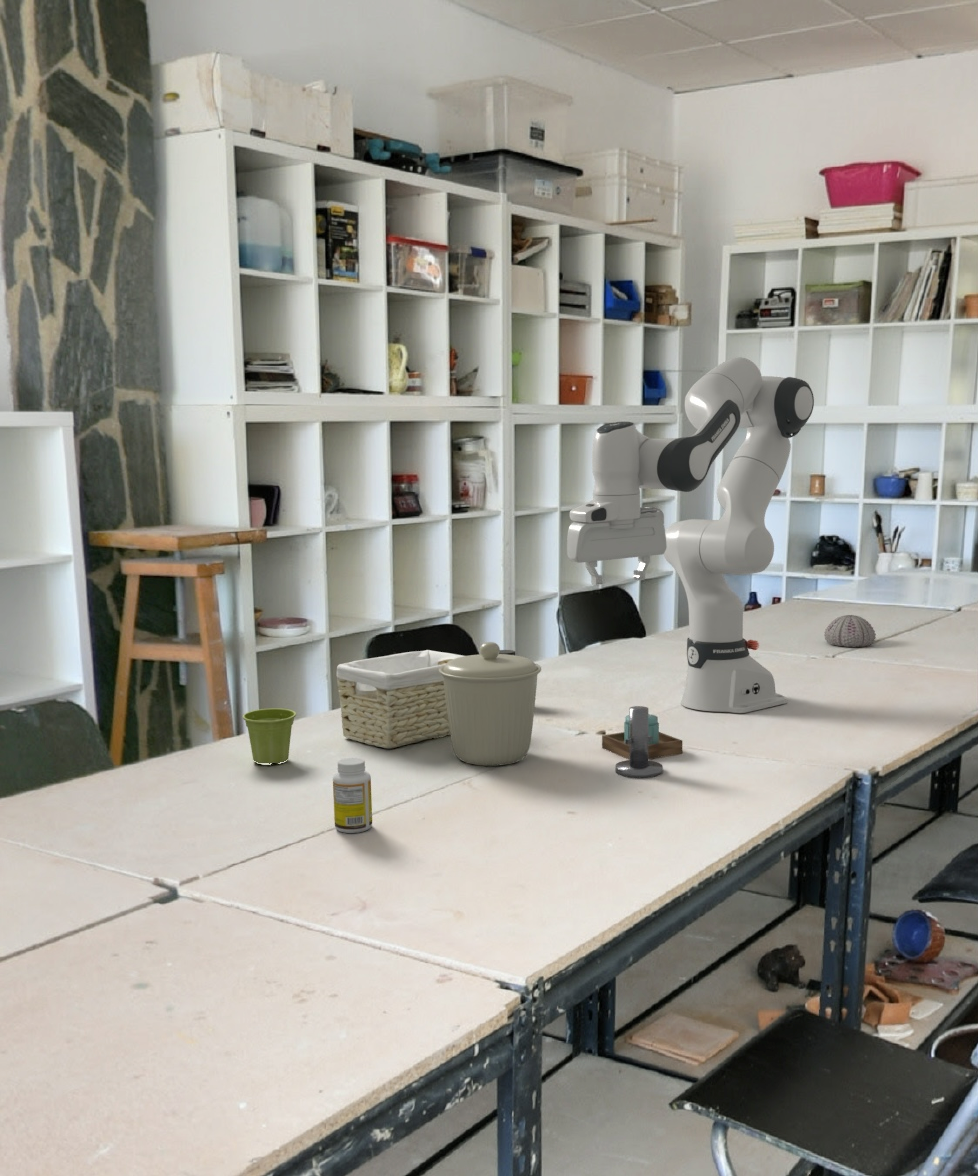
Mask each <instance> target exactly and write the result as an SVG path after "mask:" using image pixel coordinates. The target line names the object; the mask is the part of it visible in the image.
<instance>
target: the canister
mask: <svg viewBox="0 0 978 1176" xmlns="http://www.w3.org/2000/svg"><path fill="white" fill-rule="evenodd" d="M500 650H501V649H500V646H499V644H497V643H496V642H494V641H488V642H487V641H486V642H484V643H482V644H481V645H480V647H479V653H480V654H471V655H463V656H464V657H459V658H455V659H453V660H451V661H449V662H447V663H446V664H445V665H443V666H442V667H440V668H439V673H440V674H441V675H442V676H443V682H444V691H445V698H446V705H447V713H448V721H449V727H450V734H449V735H450V739H451V740H450V741H451V745H452V749H453V752H454V753H455V755H456V757H457V758H458V759H459V760H461V761H463V762H465V763H468V764H470V765H475V766H486V767H487V766H489V767H490V766H491V767H493V766H505V765H509V764H513V763H516V762H519V761H521V760H523V759H524V758H525V757H526V755H528V752H529V750H530V748H531V741H532V733H533V725H534V716H535V709H536V708H535V707H536V706H535V705H536V697H537V696H536V695H537V687H538V685H537V684H538V675H539V674H540V673H541V672H542V666H541V665H540V664H538V663H535V662H534V661H533V660H532V659H530V658H527V657H525V656H522V655H516V654H515V655H507V654H499V652H500Z"/></svg>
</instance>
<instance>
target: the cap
mask: <svg viewBox="0 0 978 1176" xmlns="http://www.w3.org/2000/svg"><path fill="white" fill-rule="evenodd" d="M624 718H625V721H624V722H623V723H624V724H623V725H624V726H623V727H624V731H623V732H624V743H626V739H629V715H626V716H625V717H624ZM658 719H659V717H658V716H657V715H654V714H649V713H648V736H652V741H648V745H650V744H656V743H659V732H660V727H659V726H660V723H659V720H658Z"/></svg>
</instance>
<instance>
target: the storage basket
mask: <svg viewBox="0 0 978 1176" xmlns="http://www.w3.org/2000/svg"><path fill="white" fill-rule="evenodd" d="M464 656H465V655H463V654H462V655H461V654H457V653H450V652H443V651H442V652H441V651H436V650H430V649H426V650H420V651H419V650H418V651H417V650H415V651H409V652H408V651H407V652H401V653H395V654H389V655H384V656H378V657H377V656H376V657H371V658H364V659H360V660H353V661H350V662H344V663H339V664H338V665H337V667H336V678H337V681H336V683H337V688H338V695H339V704H340V707H339V708H340V712H341V714H340V717H341V724H342V725H341V726H342V735H343V737H345V738H346V739H348V740H349V739H350V740H352V741H354V742H355V741H357V742H359V743H361V744H362V743H365V744H366V745H369V746H376V747H378V748H384V749H394V748H400V747H402V746H403V747H404V746H405V745H406V746H407V745H410V744H417V743H419V742H422V741H425V740H432V738H434V739H439V737H440V738H443V737H445V736H447V735H448V736H449V735H451V734H450V727H449V721H448V713H447V705H446V698H445V691H444V682H443V676H442V675H441V674H440V673H439V668H440V667H442V666H443V665H445V664H446V663H447V662H449V661H451V660H453V659H455V658H459V657H464Z"/></svg>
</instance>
